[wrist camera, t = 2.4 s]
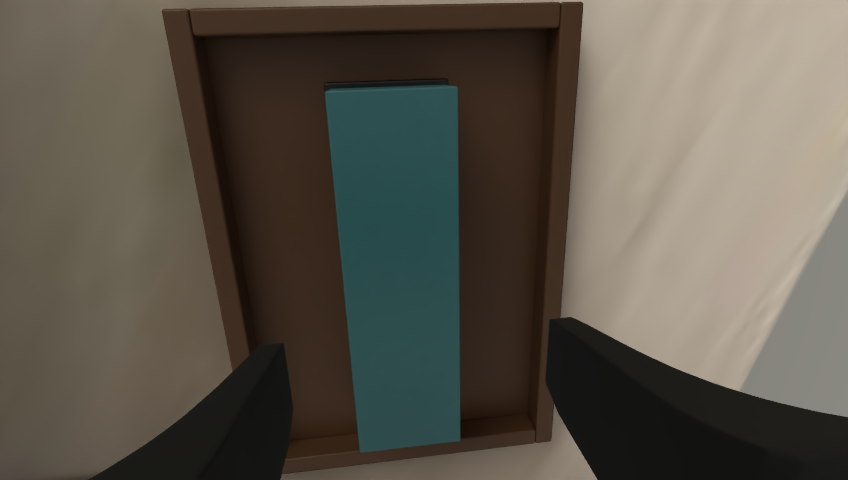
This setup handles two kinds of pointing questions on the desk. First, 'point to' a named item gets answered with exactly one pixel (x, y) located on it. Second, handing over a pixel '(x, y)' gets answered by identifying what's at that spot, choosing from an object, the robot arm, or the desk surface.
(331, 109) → the teal long block
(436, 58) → the tray
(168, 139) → the desk surface
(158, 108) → the desk surface
